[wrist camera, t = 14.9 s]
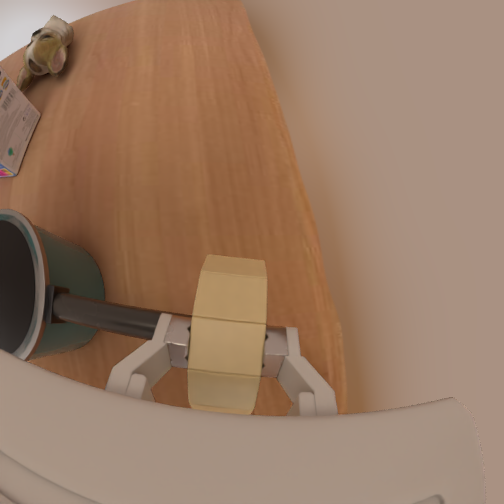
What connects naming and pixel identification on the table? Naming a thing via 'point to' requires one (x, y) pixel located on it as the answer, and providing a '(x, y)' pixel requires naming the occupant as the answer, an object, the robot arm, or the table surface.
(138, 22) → the table surface
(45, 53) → the ceramic sculpture
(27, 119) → the ink cartridge box
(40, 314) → the saucepan
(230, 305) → the tape roll
